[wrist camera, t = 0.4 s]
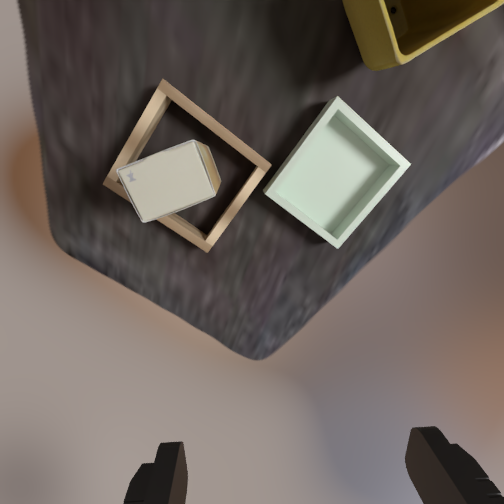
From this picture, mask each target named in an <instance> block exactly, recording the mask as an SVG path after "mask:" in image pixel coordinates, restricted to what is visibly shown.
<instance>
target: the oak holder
mask: <svg viewBox="0 0 504 504" xmlns="http://www.w3.org/2000/svg"><path fill="white" fill-rule="evenodd" d="M172 100H173V101H174V102H175V103H177V104H178V105H179V106H181V107H182V108H183V109H184V110H186V111H187V112H188V113H190V114H191V115H192V116H193V117H195V118H196V119H197V120H199V121H200V122H201V123H202V124H204V125H205V126H206V127H208V128H209V129H210V130H211V131H213V132H214V133H215V134H217V135H218V136H219V137H220V138H222V139H223V140H224V141H226V142H227V143H228V144H229V145H231V146H232V147H233V148H235V149H236V150H237V151H238V152H240V153H241V154H242V155H244V156H245V157H246V158H247V159H249V160H250V161H251V162H253V163H254V164H255V165H256V168H255V169H254V170H253V172H252V173H251V175H250V176H249V177H248V179H247V180H246V182H245V183H244V184H243V186H242V187H241V189H240V190H239V191H238V193H237V194H236V196H235V197H234V198H233V200H232V201H231V203H230V204H229V205H228V207H227V208H226V210H225V211H224V212H223V214H222V215H221V217H220V218H219V219H218V221H217V222H216V224H215V225H214V226H213V228H212V229H211V231H210V232H209V233H208V235H206V234H205V233H203V232H202V231H200V230H199V229H197V228H196V227H194V226H193V225H191V224H190V223H188V222H187V221H186V220H184V219H183V218H181V217H180V216H178V215H177V214H175V213H173V214H170V215H167V216H164V217H161V218H158V219H157V220H158V221H160V222H161V223H163V224H164V225H166V226H167V227H169V228H170V229H172V230H173V231H175V232H176V233H178V234H180V235H181V236H183V237H184V238H186V239H187V240H189V241H190V242H192V243H193V244H195V245H196V246H198V247H199V248H201V249H202V250H204V251H205V252H207V253H208V252H209V250H210V249H211V248H212V246H213V245H214V243H215V242H216V241H217V239H218V238H219V237H220V235H221V234H222V232H223V231H224V230H225V228H226V227H227V226H228V224H229V223H230V221H231V220H232V219H233V217H234V216H235V215H236V213H237V212H238V210H239V209H240V208H241V206H242V205H243V204H244V202H245V201H246V199H247V198H248V197H249V195H250V194H251V193H252V191H253V190H254V188H255V187H256V186H257V184H258V183H259V182H260V180H261V179H262V177H263V176H264V175H265V173H266V172H267V171H268V169H269V168H270V166H271V164H270V163H269V162H268V161H266V160H265V159H264V158H263V157H261V156H260V155H259V154H257V153H256V152H255V151H254V150H252V149H251V148H250V147H249V146H247V145H246V144H245V143H244V142H242V141H241V140H240V139H239V138H237V137H236V136H235V135H233V134H232V133H231V132H230V131H228V130H227V129H226V128H225V127H223V126H222V125H221V124H220V123H218V122H217V121H216V120H214V119H213V118H212V117H211V116H209V115H208V114H207V113H206V112H204V111H203V110H202V109H201V108H199V107H198V106H197V105H196V104H194V103H193V102H192V101H190V100H189V99H188V98H187V97H185V96H184V95H183V94H182V93H180V92H179V91H178V90H177V89H175V88H174V87H173V86H171V85H170V84H169V83H168V82H166V81H165V80H164V79H162V81H161V83H160V84H159V86H158V88H157V90H156V91H155V93H154V95H153V97H152V98H151V100H150V102H149V104H148V105H147V107H146V109H145V111H144V112H143V114H142V116H141V118H140V119H139V121H138V123H137V125H136V126H135V128H134V130H133V132H132V133H131V135H130V137H129V139H128V140H127V142H126V144H125V146H124V147H123V149H122V151H121V153H120V154H119V156H118V158H117V160H116V161H115V163H114V165H113V167H112V168H111V170H110V172H109V174H108V175H107V177H106V179H105V181H104V182H103V185H105V186H106V187H108V188H109V189H111V190H112V191H114V192H115V193H117V194H118V195H120V196H121V197H123V198H124V199H126V200H128V201H129V202H131V201H130V199H129V197H128V194H127V193H126V191H125V188H124V186H123V184H122V182H121V180H120V178H119V176H118V174H117V172H116V169H118V168H120V167H123V166H126V165H128V164H130V163H133V162H136V160H137V159H138V157H139V155H140V153H141V152H142V150H143V148H144V147H145V145H146V143H147V142H148V140H149V138H150V137H151V135H152V133H153V131H154V130H155V128H156V126H157V125H158V123H159V121H160V120H161V118H162V116H163V115H164V113H165V111H166V109H167V108H168V106H169V104H170V103H171V101H172Z"/></svg>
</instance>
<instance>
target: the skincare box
mask: <svg viewBox="0 0 504 504" xmlns="http://www.w3.org/2000/svg"><path fill="white" fill-rule="evenodd" d="M116 172H117V174H118V176H119V178H120V180H121V182H122V184H123V186H124V188H125V191H126V193H127V194H128V197H129V199H130V201H131V203H132V205H133V206H134V208H135V210H136V212H137V214H138V215H139V217H140V219H141V221H142V222H143V223H146V222H149V221H152V220H155V219H158V218H161V217H164V216H167V215H170V214H173V213H175V212H178V211H180V210H183V209H186V208H188V207H191V206H193V205H195V204H198V203H200V202H203V201H205V200H207V199H210V198H212V197H214V196H216V193H217V191H218V188H219V186H220V183H221V179H220V176H219V173H218V171H217V168H216V165H215V162H214V159H213V157H212V154H211V152H210V149H209V147H208V146H207V145H205V144H202V143H200V142H198V141H196V140H190V141H187V142H185V143H182V144H179V145H177V146H174V147H171V148H169V149H166V150H163V151H161V152H158V153H156V154H153V155H151V156H148V157H146V158H143V159H141V160H138V161H136V162H133V163H130V164H128V165H126V166H123V167H120V168H118V169H116Z"/></svg>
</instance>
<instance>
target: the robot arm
mask: <svg viewBox="0 0 504 504" xmlns="http://www.w3.org/2000/svg"><path fill="white" fill-rule="evenodd" d="M405 463H406V468H407V471H408V474H409V476H410V479H411V481H412V482H413V484H414V486H415V488H416V490H417V492H418V494H419V496H420V498H421V499H422V501H423V503H424V504H504V497H502V495H501V492H500V491H499V490H498V488H497V487H496V486H495V484H494V483H493V482H492V481H490V480H489V477H488V475H487V474H486V473H485V472H484V470H483V469H482V468H481V466H480V465H479V464H478V462H477V461H476V460H475V459H474V458H473V457H472V456H471V455H470V454H468V453H467V452H466V451H465V450H463V449H462V448H461V447H460V446H459V445H458V444H450V443H449V442H448V440H447V439H446V438H445V436H444V435H443V433H442V432H441V431H440V430H439V429H438V428H437V427H435V426H431V427H415V428H412V429H411V432H410V437H409V441H408V446H407V451H406V456H405ZM187 482H188V471H187V464H186V457H185V451H184V444H183V442H168V443H160V445H159V447H158V450H157V454H156V458H155V461H154V463H146V464H145V463H144V464H142V465H141V467H140V468H139V469H138V471H137V472H136V474H135V475H134V477H133V478H132V480H131V482H130V484H129V487H128V490H127V493H126V496H125V499H124V504H185V500H186V494H187Z"/></svg>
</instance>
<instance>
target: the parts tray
mask: <svg viewBox="0 0 504 504" xmlns="http://www.w3.org/2000/svg"><path fill="white" fill-rule="evenodd" d="M410 165H411V164H410V163H409V162H408V161H407V160H406V159H405V158H404V157H403V156H402V155H401V154H400V153H398V152H397V151H396V150H395V149H394V148H393V147H392V146H391V145H390V144H389V143H388V142H387V141H385V140H384V139H383V138H382V137H381V136H380V135H379V134H378V133H377V132H376V131H375V130H374V129H373V128H371V127H370V126H369V125H368V124H367V123H366V122H365V121H364V120H363V119H362V118H361V117H360V116H358V115H357V114H356V113H355V112H354V111H353V110H352V109H351V108H350V107H349V106H348V105H347V104H346V103H344V102H343V101H342V100H341V99H340V98H339V97H338V96H337V97H335V98H333V99H332V100H330V101H328V103H327V104H326V105H325V107H324V108H323V109H322V111H321V112H320V114H319V115H318V116H317V118H316V119H315V120H314V122H313V123H312V124H311V126H310V127H309V128H308V130H307V131H306V132H305V134H304V135H303V137H302V138H301V139H300V141H299V142H298V143H297V145H296V146H295V147H294V149H293V150H292V151H291V153H290V154H289V156H288V157H287V158H286V160H285V161H284V162H283V164H282V165H281V166H280V168H279V169H278V170H277V172H276V173H275V175H274V176H273V177H272V179H271V180H270V181H269V183H268V184H267V185H266V187H265V188H264V189H263V192H264V193H265V194H266V195H267V196H268V197H270V198H271V199H272V200H274V201H275V202H276V203H277V204H279V205H280V206H281V207H283V208H284V209H285V210H287V211H288V212H289V213H291V214H292V215H293V216H295V217H296V218H297V219H299V220H300V221H301V222H303V223H304V224H305V225H307V226H308V227H309V228H311V229H312V230H313V231H315V232H316V233H317V234H319V235H320V236H321V237H323V238H324V239H325V240H327V241H328V242H329V243H330V244H332V245H333V246H334V247H336V248H337V249H338V248H339V247H340V246H341V245H342V244H343V242H344V241H345V240H346V239H347V238H348V237H349V235H350V234H351V233H352V232H353V231H354V230H355V229H356V227H357V226H358V225H359V224H360V223H361V222H362V220H363V219H364V218H365V217H366V216H367V215H368V214H369V212H370V211H371V210H372V209H373V208H374V207H375V205H376V204H377V203H378V202H379V201H380V200H381V199H382V197H383V196H384V195H385V194H386V193H387V192H388V190H389V189H390V188H391V187H392V186H393V185H394V184H395V182H396V181H397V180H398V179H399V178H400V177H401V175H402V174H403V173H404V172H405V171H406V170H407V169H408V167H409V166H410Z"/></svg>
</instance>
